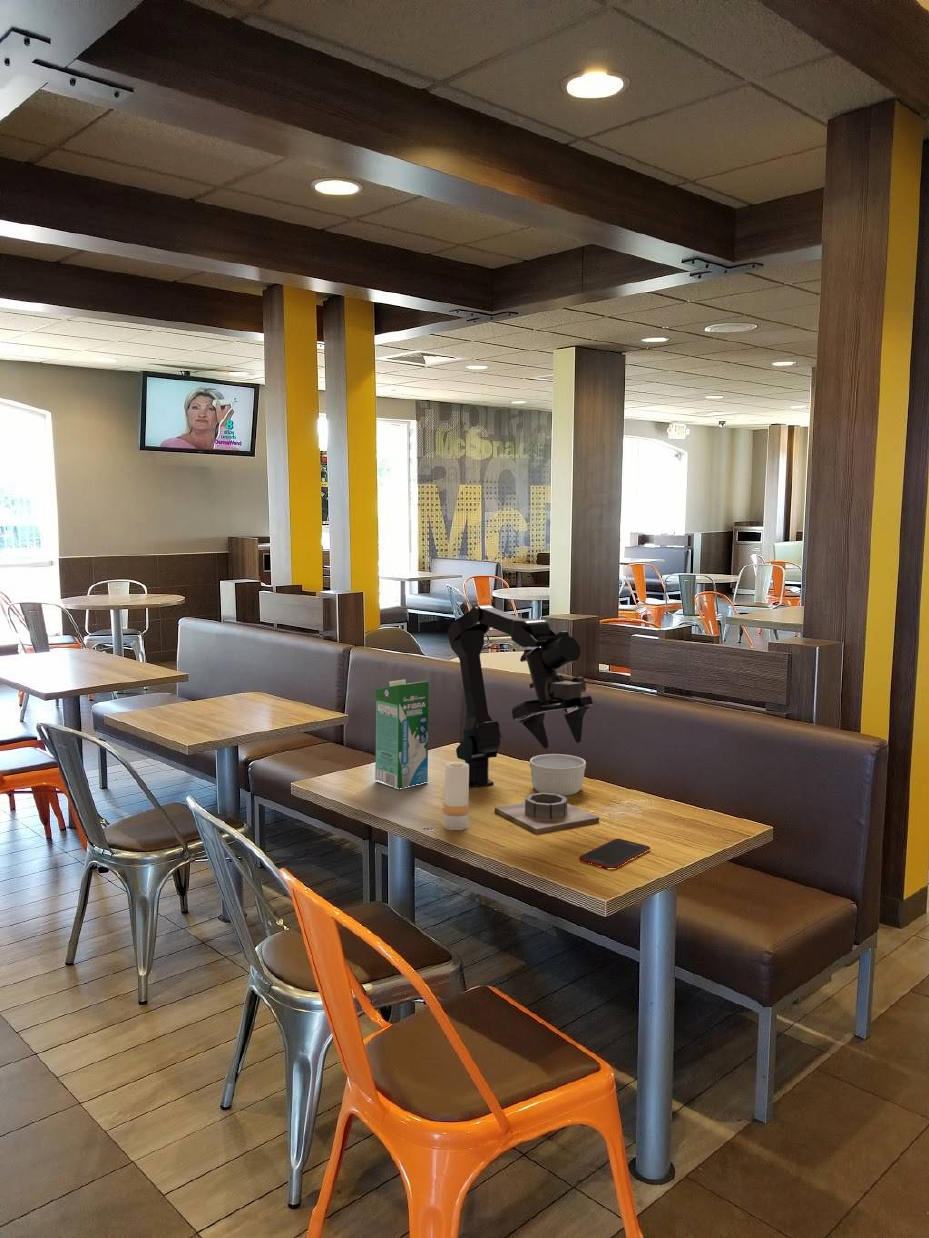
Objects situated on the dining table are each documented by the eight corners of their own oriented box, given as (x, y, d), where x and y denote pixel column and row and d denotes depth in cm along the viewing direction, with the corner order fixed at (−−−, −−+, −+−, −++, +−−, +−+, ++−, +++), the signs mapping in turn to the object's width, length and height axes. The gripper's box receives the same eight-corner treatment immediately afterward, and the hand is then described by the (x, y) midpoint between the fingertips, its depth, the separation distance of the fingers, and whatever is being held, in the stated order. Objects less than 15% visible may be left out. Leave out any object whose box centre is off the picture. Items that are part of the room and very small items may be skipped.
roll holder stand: (494, 811, 203) (494, 793, 203) (554, 801, 211) (555, 784, 211) (536, 833, 190) (536, 814, 189) (598, 822, 198) (599, 803, 197)
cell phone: (576, 862, 175) (576, 857, 175) (617, 842, 186) (617, 837, 186) (612, 872, 170) (612, 867, 170) (651, 851, 181) (652, 846, 181)
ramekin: (554, 801, 212) (555, 771, 212) (517, 787, 223) (518, 758, 222) (596, 791, 220) (597, 762, 220) (559, 778, 231) (559, 751, 230)
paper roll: (439, 824, 195) (440, 762, 193) (462, 821, 197) (463, 760, 195) (448, 831, 190) (449, 768, 189) (472, 829, 192) (473, 766, 191)
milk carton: (404, 775, 231) (405, 675, 229) (428, 783, 225) (429, 680, 222) (374, 782, 225) (375, 679, 223) (398, 790, 219) (399, 684, 216)
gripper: (533, 667, 192) (553, 742, 188) (599, 660, 203) (619, 731, 199) (502, 683, 200) (520, 754, 197) (567, 675, 211) (586, 743, 207)
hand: (563, 745), depth 200 cm, fingers open, 9 cm apart
